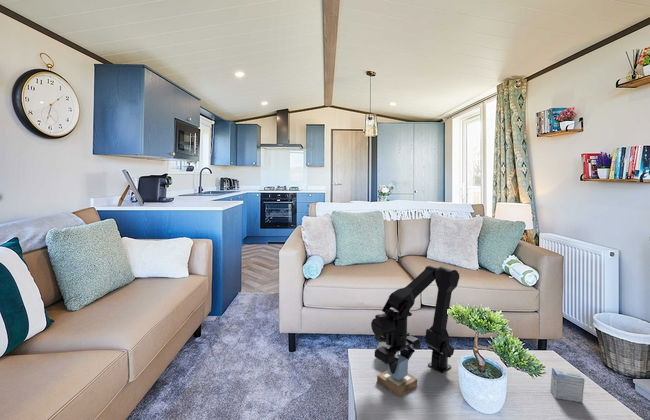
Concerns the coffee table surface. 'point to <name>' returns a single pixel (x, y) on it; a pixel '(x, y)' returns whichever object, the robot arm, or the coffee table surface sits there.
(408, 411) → the coffee table surface
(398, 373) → the block
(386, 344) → the die
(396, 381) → the picture frame
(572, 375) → the medicine box
